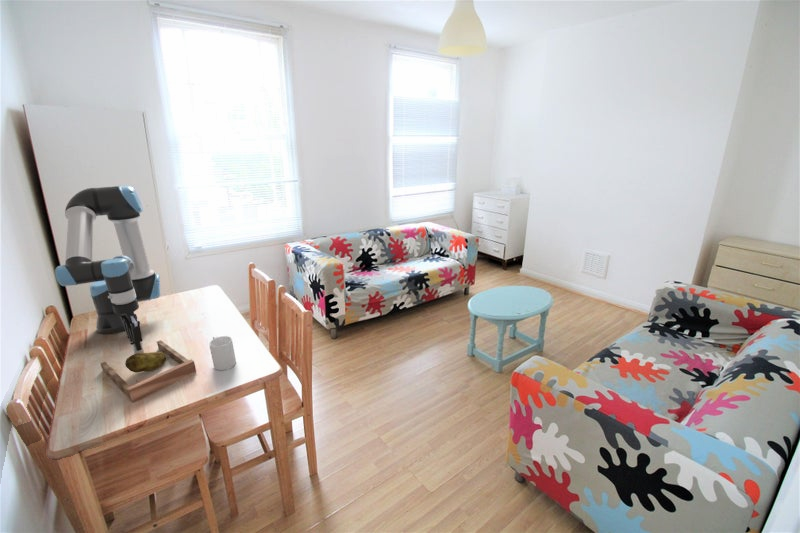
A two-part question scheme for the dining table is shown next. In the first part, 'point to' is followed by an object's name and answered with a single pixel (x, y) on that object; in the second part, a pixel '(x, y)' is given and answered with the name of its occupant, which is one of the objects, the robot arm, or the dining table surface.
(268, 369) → the dining table surface
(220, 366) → the mug
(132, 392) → the channel
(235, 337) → the dining table surface
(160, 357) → the potato
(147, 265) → the robot arm
